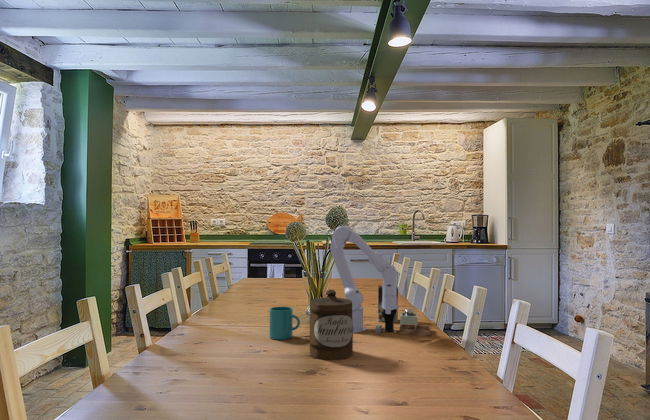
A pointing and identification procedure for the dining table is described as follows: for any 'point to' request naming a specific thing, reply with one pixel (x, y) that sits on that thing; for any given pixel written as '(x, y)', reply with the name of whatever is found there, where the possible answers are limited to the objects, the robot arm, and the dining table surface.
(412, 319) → the cup
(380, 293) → the coffee box
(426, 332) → the trough tray
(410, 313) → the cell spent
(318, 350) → the wooden container
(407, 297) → the dining table surface
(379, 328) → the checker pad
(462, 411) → the dining table surface
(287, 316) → the cup
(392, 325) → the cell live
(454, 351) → the dining table surface
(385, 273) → the robot arm
